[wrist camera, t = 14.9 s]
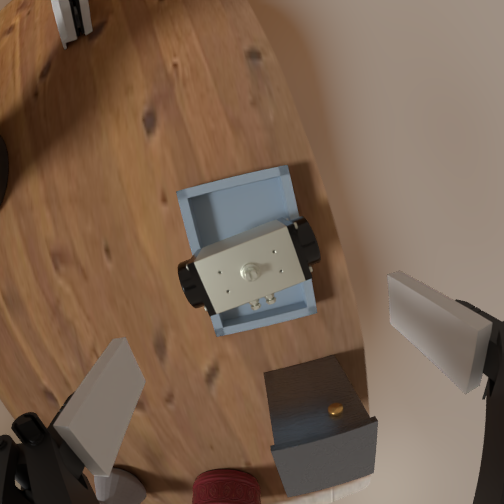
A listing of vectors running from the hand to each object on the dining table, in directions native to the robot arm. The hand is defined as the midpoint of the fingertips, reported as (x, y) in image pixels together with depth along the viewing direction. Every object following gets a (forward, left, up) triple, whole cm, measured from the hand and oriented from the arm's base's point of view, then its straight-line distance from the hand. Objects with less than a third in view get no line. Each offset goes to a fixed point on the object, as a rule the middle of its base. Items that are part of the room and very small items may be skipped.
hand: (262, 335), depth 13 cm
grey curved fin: (-43, -17, -22) cm, 52 cm away
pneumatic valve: (0, 0, -21) cm, 21 cm away
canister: (+44, -15, -22) cm, 51 cm away
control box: (+22, +3, -22) cm, 31 cm away
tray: (0, 0, -22) cm, 22 cm away
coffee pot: (+36, -37, -22) cm, 56 cm away
